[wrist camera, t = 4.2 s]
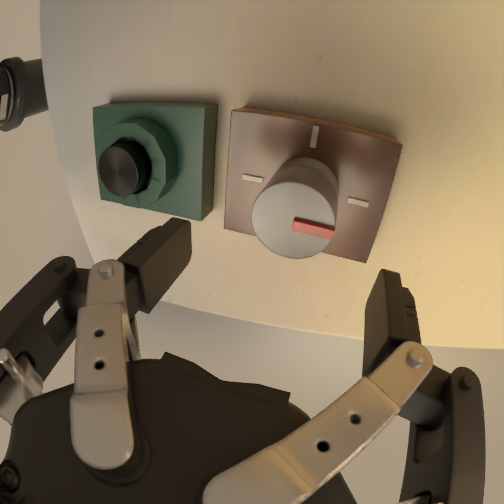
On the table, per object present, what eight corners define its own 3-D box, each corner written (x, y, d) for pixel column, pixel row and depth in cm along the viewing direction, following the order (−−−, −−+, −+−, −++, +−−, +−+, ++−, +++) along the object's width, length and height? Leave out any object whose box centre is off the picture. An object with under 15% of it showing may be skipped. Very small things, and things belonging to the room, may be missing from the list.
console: (114, 190, 27) (88, 207, 24) (109, 103, 22) (77, 111, 18) (212, 210, 25) (191, 232, 22) (217, 104, 20) (192, 110, 16)
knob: (268, 211, 20) (245, 251, 16) (277, 150, 18) (253, 175, 14) (330, 225, 20) (324, 270, 15) (344, 165, 17) (344, 195, 13)
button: (114, 185, 22) (101, 193, 20) (110, 139, 20) (95, 145, 18) (153, 192, 21) (139, 201, 20) (151, 141, 19) (136, 147, 17)
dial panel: (234, 215, 24) (222, 229, 22) (243, 106, 19) (230, 110, 17) (365, 246, 22) (366, 264, 20) (396, 137, 17) (403, 145, 15)
